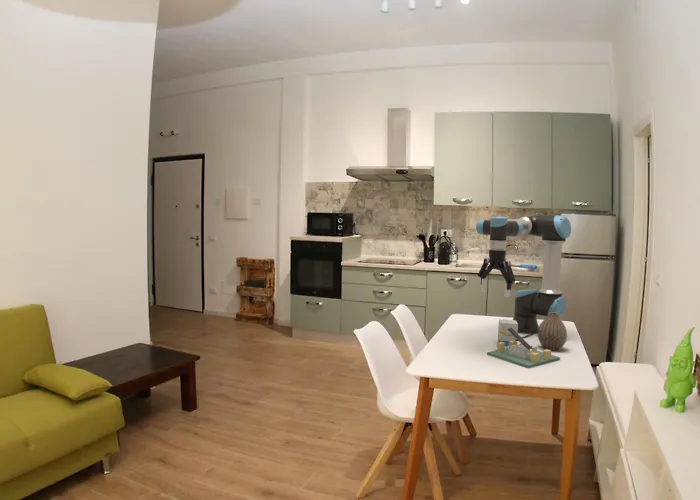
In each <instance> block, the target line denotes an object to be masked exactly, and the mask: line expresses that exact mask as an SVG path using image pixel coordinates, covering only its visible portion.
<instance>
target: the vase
mask: <svg viewBox="0 0 700 500" xmlns="http://www.w3.org/2000/svg"><path fill="white" fill-rule="evenodd" d="M538 326H539V329H538V331H542V332H541V333H538V334H537V339H538V342H539V343H540V345H541V346H542V347H543V348H544V350H547V349H548V350H551V351H559V350H560V349H561V348H563V347H564V346H565V344H566V342H567V341H568V340H567V338H568V331H567V328H566V325H565V323H564V322H563V321H562V319H561V317H559V315H558V313H554V312H549V314H548V316H545V318H544V319H543V320H542V322H541V323H540V324H539V325H538Z"/></svg>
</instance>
